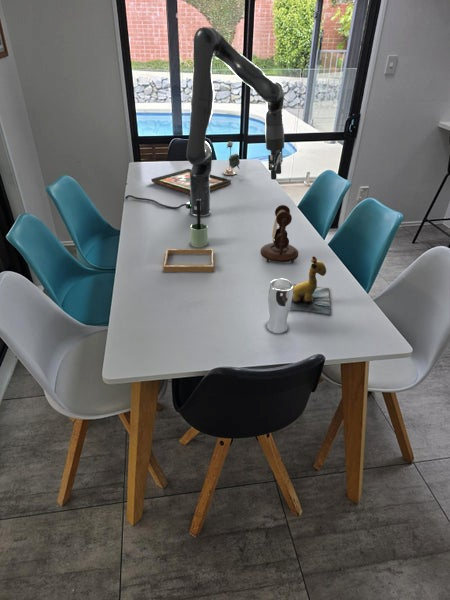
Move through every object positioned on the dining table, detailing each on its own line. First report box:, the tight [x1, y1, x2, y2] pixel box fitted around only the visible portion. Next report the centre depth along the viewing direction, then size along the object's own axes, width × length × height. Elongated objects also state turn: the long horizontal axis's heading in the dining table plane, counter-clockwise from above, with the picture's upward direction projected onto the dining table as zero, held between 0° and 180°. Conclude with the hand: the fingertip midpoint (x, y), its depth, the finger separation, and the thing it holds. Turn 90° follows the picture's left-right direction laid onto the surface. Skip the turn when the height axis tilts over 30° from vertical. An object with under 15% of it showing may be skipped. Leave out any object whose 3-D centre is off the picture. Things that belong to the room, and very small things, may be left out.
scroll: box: [260, 204, 299, 264], centre depth 152 cm, size 15×15×20 cm
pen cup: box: [189, 222, 209, 248], centre depth 163 cm, size 7×7×8 cm
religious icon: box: [151, 168, 232, 195], centre depth 232 cm, size 38×35×3 cm
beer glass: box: [266, 278, 294, 334], centre depth 115 cm, size 7×7×15 cm
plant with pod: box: [222, 140, 241, 176], centre depth 246 cm, size 8×11×20 cm
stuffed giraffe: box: [290, 255, 331, 315], centre depth 129 cm, size 16×18×16 cm
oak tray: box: [162, 248, 214, 273], centre depth 152 cm, size 18×14×2 cm
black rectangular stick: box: [196, 199, 202, 230], centre depth 161 cm, size 4×1×18 cm, turn 2°
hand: (276, 176), depth 172 cm, fingers open, 8 cm apart
